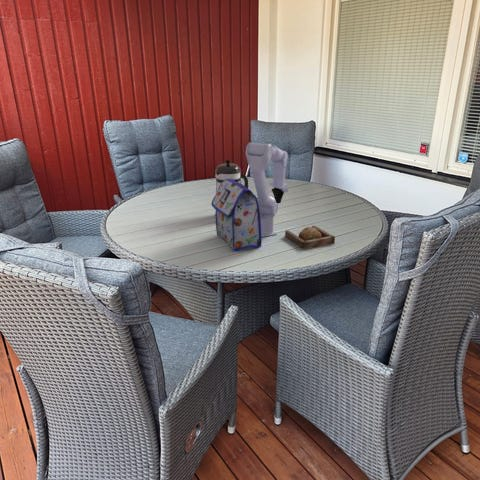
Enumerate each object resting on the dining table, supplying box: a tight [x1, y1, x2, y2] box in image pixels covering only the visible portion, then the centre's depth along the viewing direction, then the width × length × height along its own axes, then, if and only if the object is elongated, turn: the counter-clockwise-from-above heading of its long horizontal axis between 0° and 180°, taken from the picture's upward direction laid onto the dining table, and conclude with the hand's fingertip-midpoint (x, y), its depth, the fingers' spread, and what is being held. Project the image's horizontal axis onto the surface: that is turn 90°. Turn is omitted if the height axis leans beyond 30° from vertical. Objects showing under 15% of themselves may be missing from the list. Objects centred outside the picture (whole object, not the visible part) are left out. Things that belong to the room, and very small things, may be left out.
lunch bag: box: [210, 179, 263, 252], centre depth 172 cm, size 23×17×27 cm
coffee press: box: [214, 159, 249, 217], centre depth 204 cm, size 17×16×30 cm
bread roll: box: [298, 226, 322, 241], centre depth 177 cm, size 10×10×8 cm
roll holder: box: [284, 225, 336, 250], centre depth 178 cm, size 16×16×3 cm
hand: (278, 202), depth 195 cm, fingers closed
